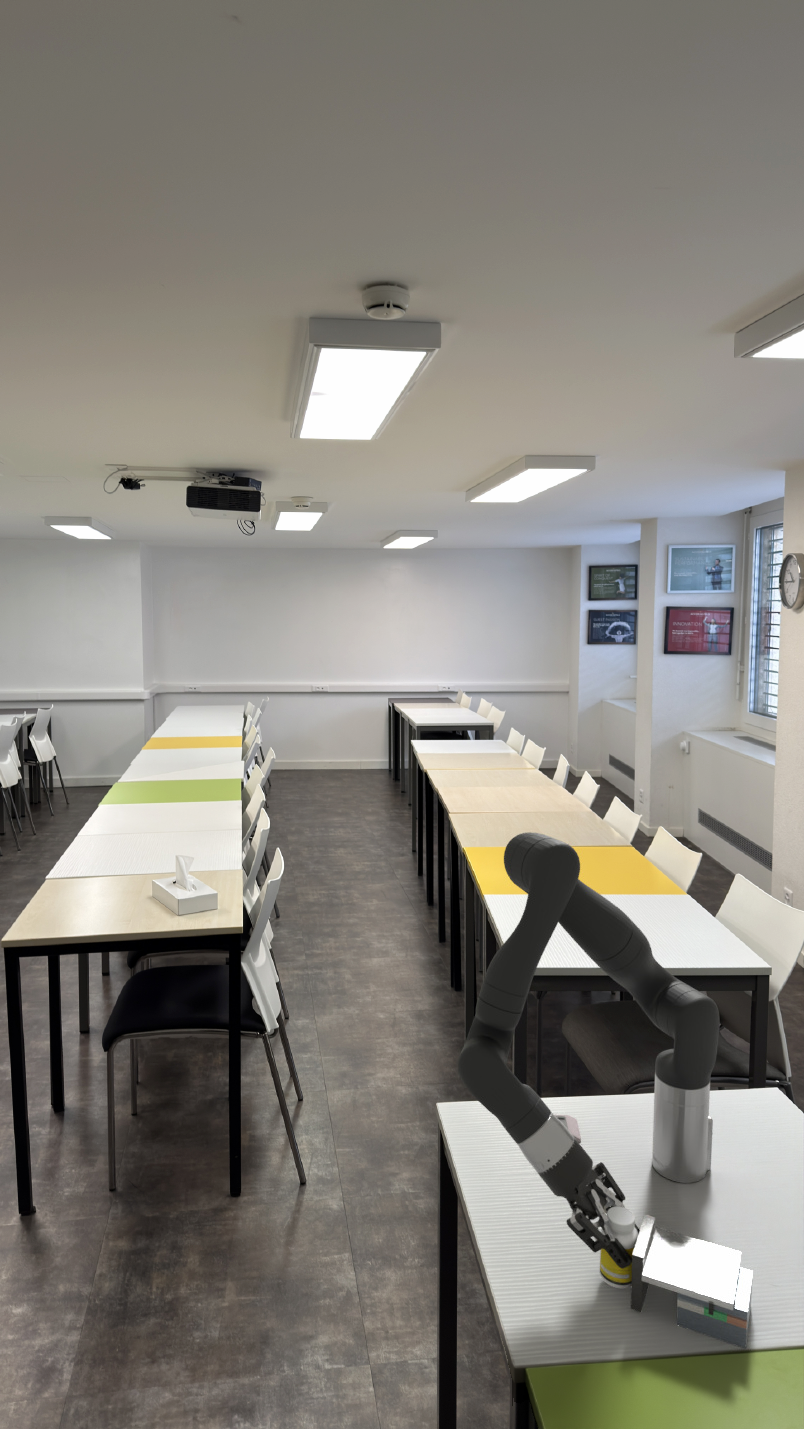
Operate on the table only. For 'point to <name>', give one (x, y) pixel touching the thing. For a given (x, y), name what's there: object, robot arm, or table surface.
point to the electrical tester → (570, 1125)
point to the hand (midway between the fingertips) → (631, 1250)
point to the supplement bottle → (627, 1236)
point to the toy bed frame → (682, 1267)
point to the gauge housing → (719, 1314)
